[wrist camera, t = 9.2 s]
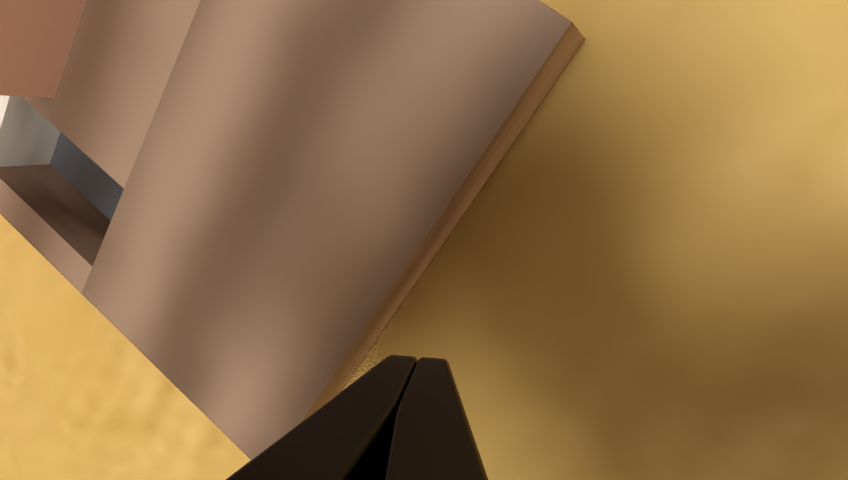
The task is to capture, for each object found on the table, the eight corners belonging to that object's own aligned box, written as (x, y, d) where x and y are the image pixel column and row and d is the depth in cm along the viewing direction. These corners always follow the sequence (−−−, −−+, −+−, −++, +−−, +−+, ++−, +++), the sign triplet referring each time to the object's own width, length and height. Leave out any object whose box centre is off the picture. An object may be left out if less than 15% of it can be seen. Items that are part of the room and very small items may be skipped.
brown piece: (585, 39, 17) (552, -4, 12) (310, 436, 24) (209, 524, 19) (68, -300, 22) (-122, -440, 17) (-38, 109, 29) (-197, 103, 24)
